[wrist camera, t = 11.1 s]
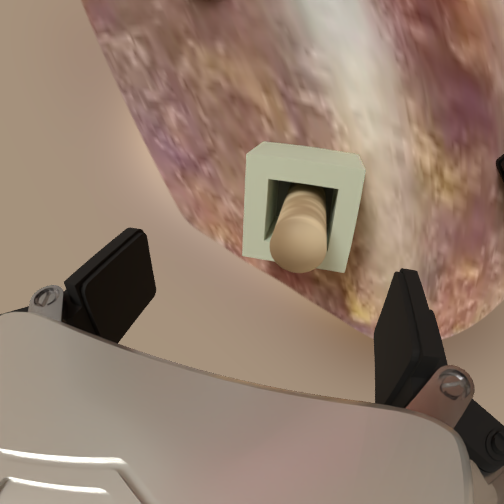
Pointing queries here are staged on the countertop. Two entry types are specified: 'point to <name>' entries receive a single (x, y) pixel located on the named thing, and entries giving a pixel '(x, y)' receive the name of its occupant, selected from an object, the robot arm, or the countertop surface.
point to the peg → (301, 229)
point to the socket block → (306, 172)
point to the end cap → (501, 166)
